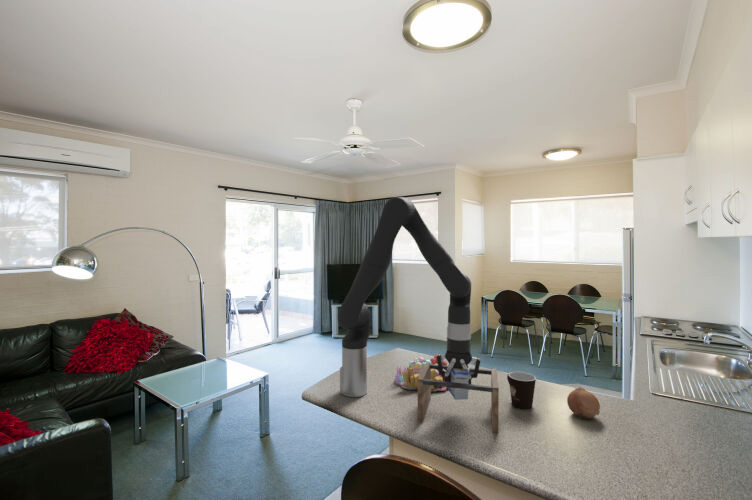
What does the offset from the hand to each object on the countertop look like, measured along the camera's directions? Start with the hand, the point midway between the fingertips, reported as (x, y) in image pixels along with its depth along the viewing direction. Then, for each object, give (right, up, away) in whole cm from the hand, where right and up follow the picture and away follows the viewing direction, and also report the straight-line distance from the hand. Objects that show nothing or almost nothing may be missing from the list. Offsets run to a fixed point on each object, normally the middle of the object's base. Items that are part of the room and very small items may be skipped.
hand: (457, 388), depth 114 cm
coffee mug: (+23, -9, +7) cm, 26 cm away
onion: (+39, -9, -2) cm, 40 cm away
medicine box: (0, -2, 0) cm, 2 cm away
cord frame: (0, -8, 0) cm, 8 cm away
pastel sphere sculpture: (-7, -9, +28) cm, 31 cm away
